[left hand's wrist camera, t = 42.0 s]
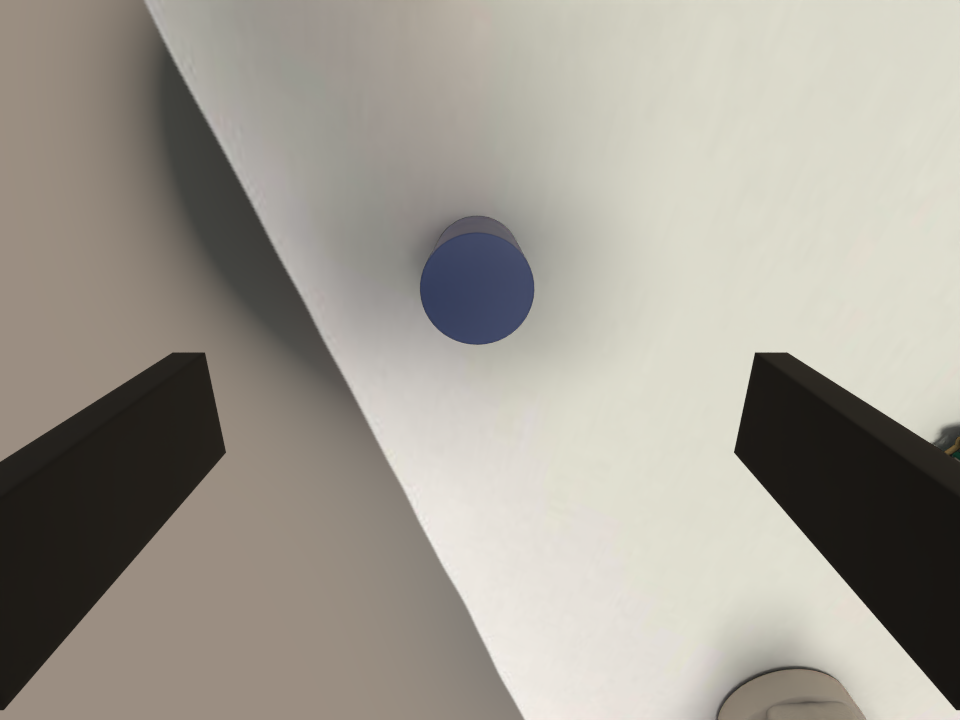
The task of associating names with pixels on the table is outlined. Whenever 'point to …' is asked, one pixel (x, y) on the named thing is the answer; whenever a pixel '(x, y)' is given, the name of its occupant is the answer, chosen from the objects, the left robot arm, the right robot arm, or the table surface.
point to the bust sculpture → (791, 698)
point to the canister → (477, 282)
